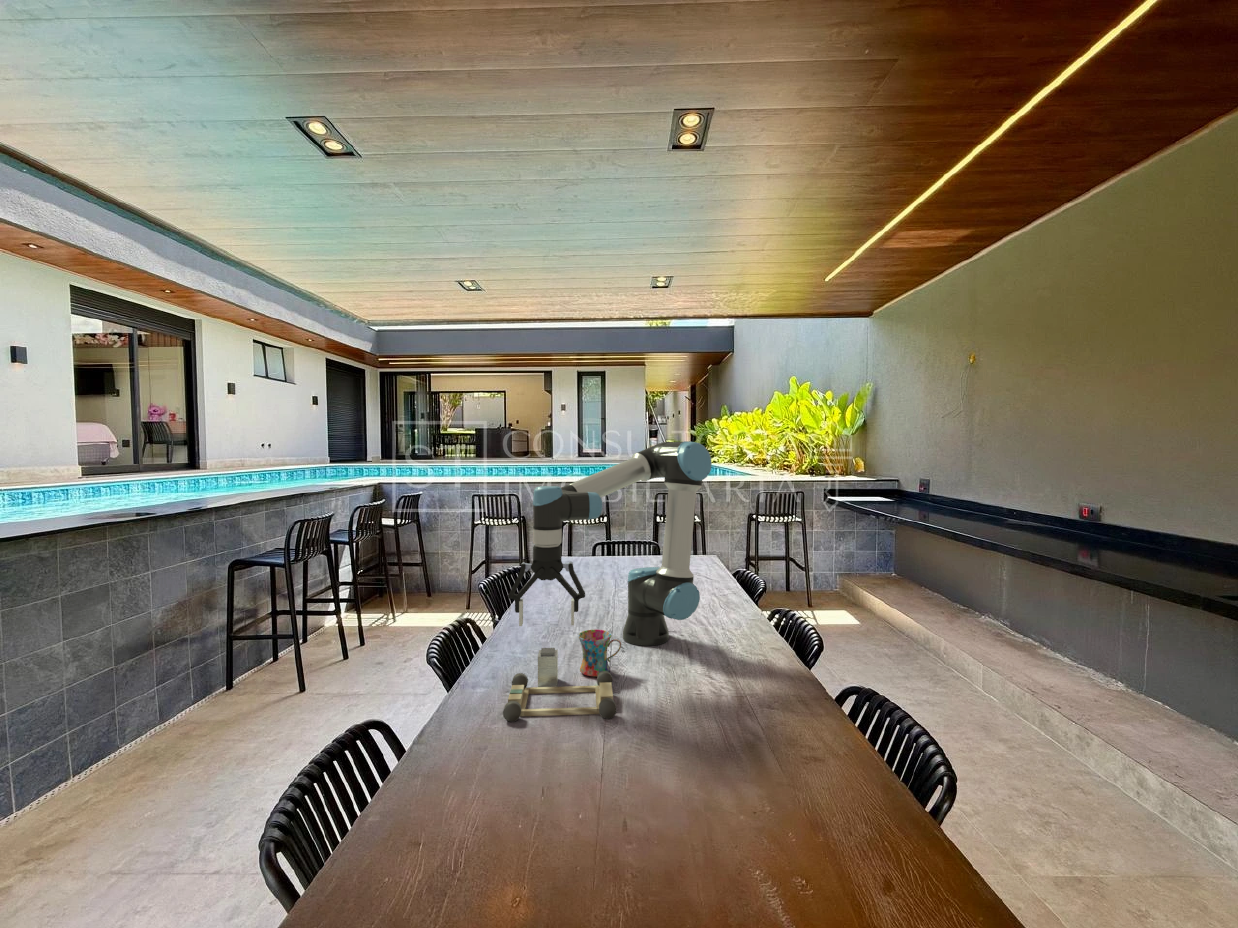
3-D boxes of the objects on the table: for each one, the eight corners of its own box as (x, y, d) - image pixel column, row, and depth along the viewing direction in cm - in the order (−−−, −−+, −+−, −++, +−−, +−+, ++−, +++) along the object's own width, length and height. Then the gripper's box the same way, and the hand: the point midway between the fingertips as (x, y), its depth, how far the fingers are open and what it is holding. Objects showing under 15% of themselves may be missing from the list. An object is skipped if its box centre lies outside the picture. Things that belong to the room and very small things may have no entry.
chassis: (612, 685, 149) (612, 670, 149) (616, 718, 131) (616, 701, 131) (512, 688, 147) (512, 673, 147) (502, 722, 129) (502, 704, 129)
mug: (576, 679, 153) (576, 640, 152) (579, 665, 162) (579, 629, 162) (621, 679, 153) (621, 640, 152) (621, 665, 162) (621, 629, 162)
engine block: (557, 678, 153) (557, 646, 153) (557, 686, 148) (556, 653, 148) (539, 679, 153) (539, 647, 153) (537, 687, 148) (537, 653, 148)
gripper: (594, 542, 154) (593, 619, 154) (501, 542, 152) (501, 620, 153) (594, 546, 146) (594, 628, 147) (497, 547, 145) (497, 629, 145)
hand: (546, 624), depth 150 cm, fingers open, 13 cm apart
